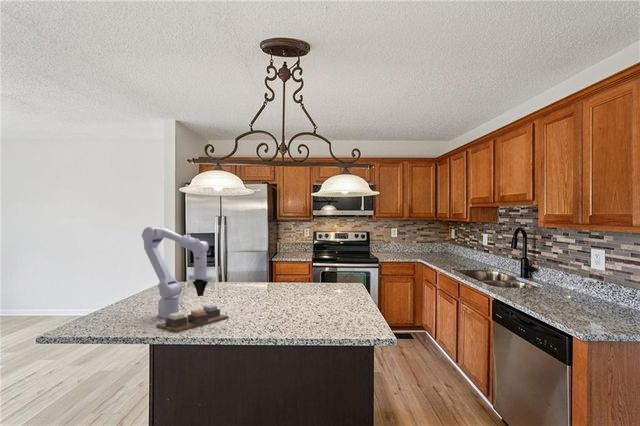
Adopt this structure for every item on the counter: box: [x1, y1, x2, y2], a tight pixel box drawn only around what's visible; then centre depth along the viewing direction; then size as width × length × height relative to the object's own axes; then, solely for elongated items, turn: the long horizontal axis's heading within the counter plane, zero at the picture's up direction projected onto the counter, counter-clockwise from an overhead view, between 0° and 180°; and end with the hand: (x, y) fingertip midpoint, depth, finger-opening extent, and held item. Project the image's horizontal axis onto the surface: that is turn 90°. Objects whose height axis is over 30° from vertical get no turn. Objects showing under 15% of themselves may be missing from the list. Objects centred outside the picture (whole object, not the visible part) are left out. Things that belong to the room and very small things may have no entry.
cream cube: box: [169, 312, 185, 320], centre depth 164 cm, size 4×4×4 cm
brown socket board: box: [155, 308, 230, 334], centre depth 172 cm, size 14×28×4 cm, turn 145°
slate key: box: [203, 304, 218, 311], centre depth 179 cm, size 4×4×4 cm
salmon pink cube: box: [190, 308, 206, 317], centre depth 170 cm, size 4×4×4 cm
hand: (200, 295), depth 179 cm, fingers closed
